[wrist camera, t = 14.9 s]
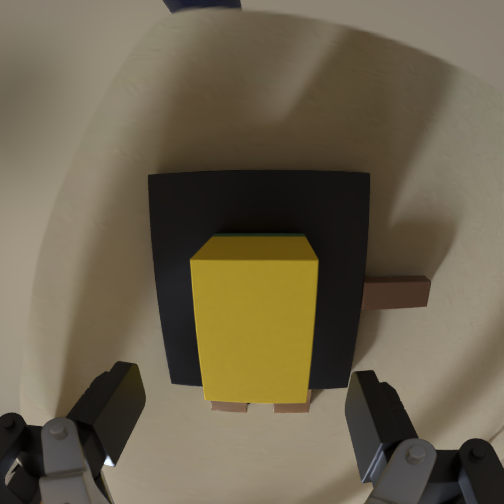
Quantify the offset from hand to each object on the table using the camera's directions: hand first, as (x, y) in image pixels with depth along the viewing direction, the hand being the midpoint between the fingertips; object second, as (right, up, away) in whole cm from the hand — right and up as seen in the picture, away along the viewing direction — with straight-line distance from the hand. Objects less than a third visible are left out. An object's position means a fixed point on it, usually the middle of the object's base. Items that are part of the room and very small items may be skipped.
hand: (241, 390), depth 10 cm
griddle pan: (+3, +2, +10) cm, 11 cm away
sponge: (+1, +2, +9) cm, 10 cm away
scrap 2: (+4, -7, +13) cm, 15 cm away
